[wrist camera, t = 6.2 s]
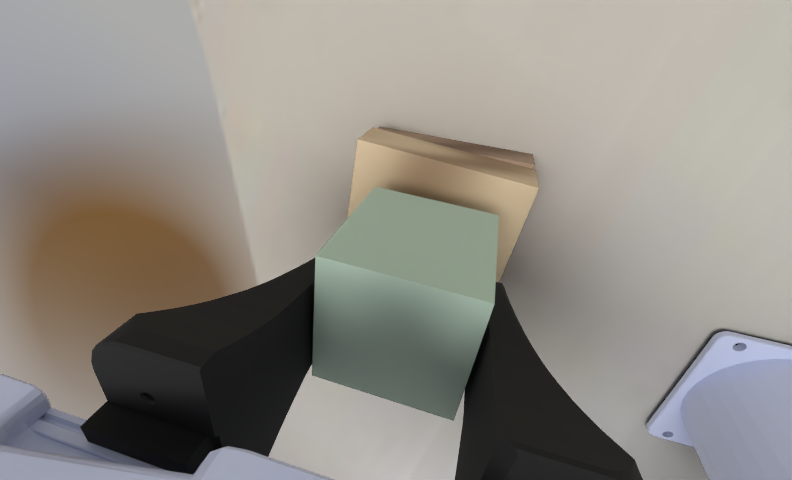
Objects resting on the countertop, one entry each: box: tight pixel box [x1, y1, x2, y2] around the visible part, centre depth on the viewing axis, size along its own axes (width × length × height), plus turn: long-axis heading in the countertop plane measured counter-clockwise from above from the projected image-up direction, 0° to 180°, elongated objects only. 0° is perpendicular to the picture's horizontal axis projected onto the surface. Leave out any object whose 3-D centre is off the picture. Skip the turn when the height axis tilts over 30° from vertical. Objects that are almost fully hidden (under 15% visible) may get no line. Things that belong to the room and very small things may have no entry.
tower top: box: [347, 127, 539, 282], centre depth 17 cm, size 7×7×2 cm
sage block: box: [312, 187, 499, 421], centre depth 12 cm, size 4×4×5 cm
